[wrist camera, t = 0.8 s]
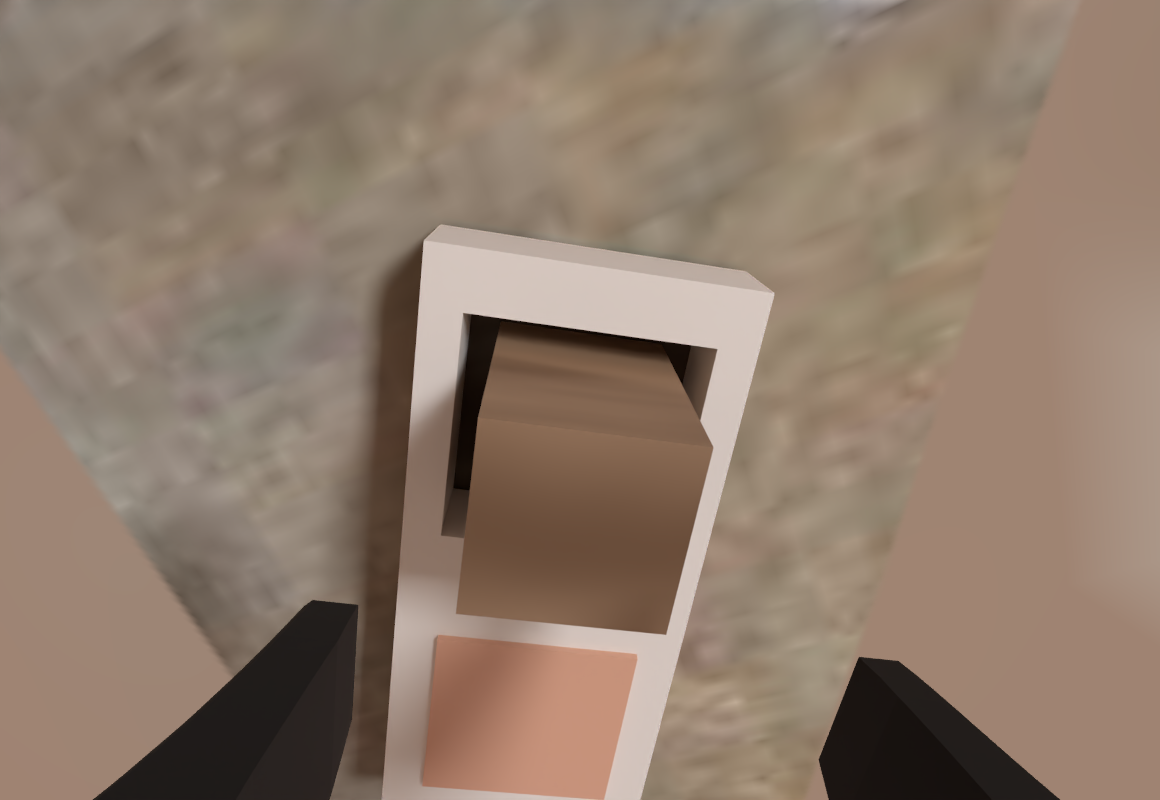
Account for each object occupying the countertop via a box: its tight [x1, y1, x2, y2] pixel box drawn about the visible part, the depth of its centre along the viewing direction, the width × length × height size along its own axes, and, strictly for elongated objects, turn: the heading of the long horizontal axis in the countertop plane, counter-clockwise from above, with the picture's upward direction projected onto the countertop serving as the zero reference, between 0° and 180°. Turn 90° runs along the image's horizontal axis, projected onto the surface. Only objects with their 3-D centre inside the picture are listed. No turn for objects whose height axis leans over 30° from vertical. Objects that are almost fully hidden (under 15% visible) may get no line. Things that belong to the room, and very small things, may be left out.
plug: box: [456, 321, 714, 635], centre depth 17 cm, size 4×4×6 cm
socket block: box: [382, 224, 775, 800], centre depth 20 cm, size 18×8×3 cm, turn 171°
